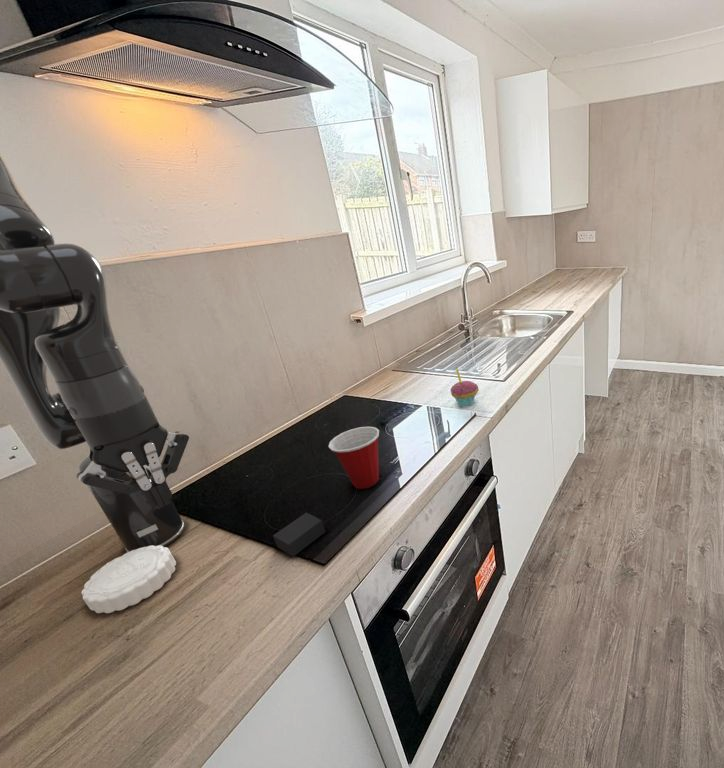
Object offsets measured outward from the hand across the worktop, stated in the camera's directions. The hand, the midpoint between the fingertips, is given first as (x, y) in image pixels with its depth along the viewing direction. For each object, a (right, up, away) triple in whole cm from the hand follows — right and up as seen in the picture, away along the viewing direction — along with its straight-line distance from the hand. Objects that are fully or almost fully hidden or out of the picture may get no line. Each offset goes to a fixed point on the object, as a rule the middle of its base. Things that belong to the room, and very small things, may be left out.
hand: (162, 504), depth 62 cm
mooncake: (-14, -17, +11) cm, 24 cm away
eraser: (+12, -12, +17) cm, 24 cm away
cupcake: (+39, +12, +67) cm, 78 cm away
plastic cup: (+19, -4, +33) cm, 39 cm away
